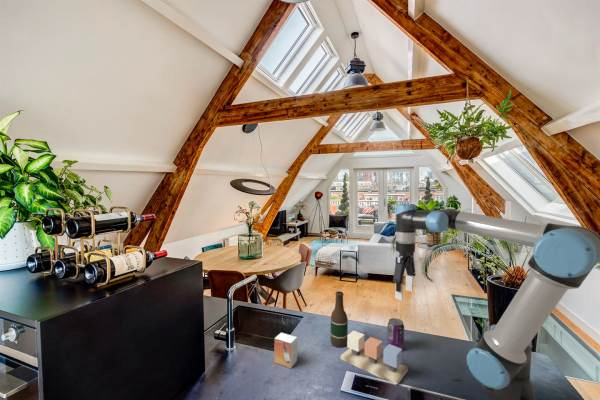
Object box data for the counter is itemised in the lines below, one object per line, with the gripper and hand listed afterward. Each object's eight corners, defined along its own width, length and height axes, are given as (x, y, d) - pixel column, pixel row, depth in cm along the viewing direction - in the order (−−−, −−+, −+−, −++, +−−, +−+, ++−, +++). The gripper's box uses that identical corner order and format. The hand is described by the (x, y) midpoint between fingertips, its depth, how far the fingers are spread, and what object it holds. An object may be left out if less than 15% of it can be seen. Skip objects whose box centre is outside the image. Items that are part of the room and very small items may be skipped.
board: (407, 370, 112) (408, 357, 111) (396, 385, 103) (397, 371, 103) (353, 347, 127) (354, 335, 127) (340, 359, 119) (340, 346, 118)
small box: (273, 363, 116) (273, 338, 115) (281, 355, 121) (281, 331, 120) (290, 369, 112) (290, 343, 112) (297, 361, 117) (297, 336, 117)
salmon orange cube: (382, 353, 115) (382, 341, 115) (376, 359, 111) (376, 346, 111) (370, 348, 119) (370, 336, 118) (364, 354, 115) (364, 342, 114)
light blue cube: (401, 361, 110) (402, 348, 110) (396, 368, 106) (396, 355, 106) (388, 356, 113) (389, 343, 113) (383, 362, 109) (383, 349, 109)
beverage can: (405, 352, 123) (405, 326, 123) (388, 350, 125) (388, 324, 124) (402, 344, 130) (403, 318, 130) (386, 342, 132) (387, 317, 131)
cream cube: (364, 346, 120) (364, 334, 120) (358, 351, 116) (358, 339, 116) (353, 342, 124) (353, 330, 123) (347, 347, 120) (347, 335, 120)
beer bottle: (328, 346, 128) (329, 294, 127) (332, 337, 135) (332, 288, 134) (346, 349, 126) (346, 296, 124) (348, 340, 133) (349, 290, 132)
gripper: (406, 236, 127) (405, 285, 128) (384, 245, 109) (383, 301, 110) (423, 238, 122) (422, 289, 123) (404, 247, 104) (402, 306, 105)
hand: (404, 294), depth 117 cm, fingers open, 11 cm apart
